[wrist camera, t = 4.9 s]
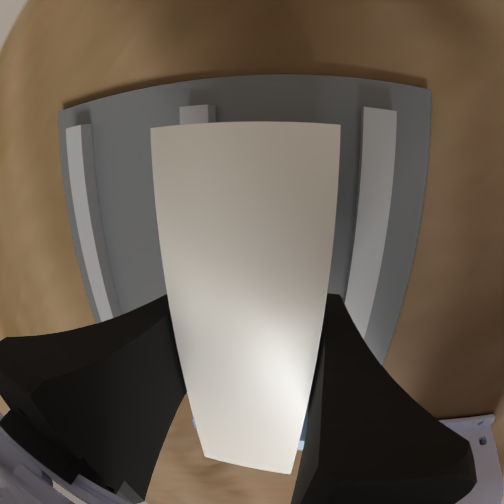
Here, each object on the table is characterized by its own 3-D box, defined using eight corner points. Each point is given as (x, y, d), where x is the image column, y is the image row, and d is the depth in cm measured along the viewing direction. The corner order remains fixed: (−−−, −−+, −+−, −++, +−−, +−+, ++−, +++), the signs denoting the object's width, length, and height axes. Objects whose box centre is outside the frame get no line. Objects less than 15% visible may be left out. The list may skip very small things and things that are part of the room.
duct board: (427, 90, 9) (476, 74, 5) (368, 394, 15) (369, 456, 11) (63, 111, 13) (1, 119, 9) (107, 343, 19) (72, 382, 15)
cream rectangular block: (334, 127, 8) (340, 125, 4) (305, 396, 13) (290, 474, 9) (224, 125, 9) (150, 128, 5) (235, 385, 14) (205, 456, 10)
